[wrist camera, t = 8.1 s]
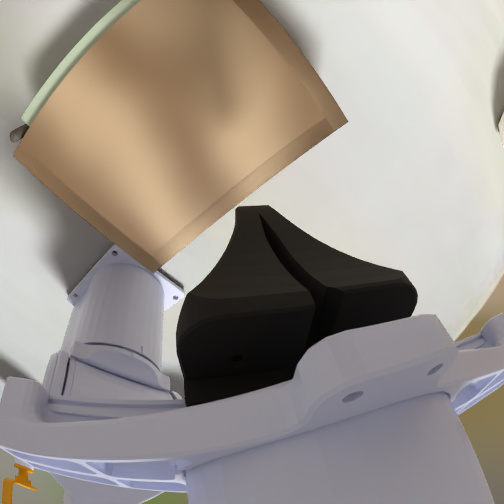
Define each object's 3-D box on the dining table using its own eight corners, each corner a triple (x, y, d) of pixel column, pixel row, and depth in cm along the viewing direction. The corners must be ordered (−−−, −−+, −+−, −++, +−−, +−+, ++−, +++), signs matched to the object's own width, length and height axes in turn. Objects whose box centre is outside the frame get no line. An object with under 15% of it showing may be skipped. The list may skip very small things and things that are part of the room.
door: (61, 112, 16) (30, 128, 12) (51, 103, 15) (19, 116, 11) (204, -20, 12) (206, -42, 9) (193, -30, 12) (192, -54, 8)
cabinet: (160, 230, 23) (153, 273, 19) (40, 124, 16) (3, 146, 11) (315, 106, 19) (348, 121, 15) (197, -30, 12) (198, -58, 8)
